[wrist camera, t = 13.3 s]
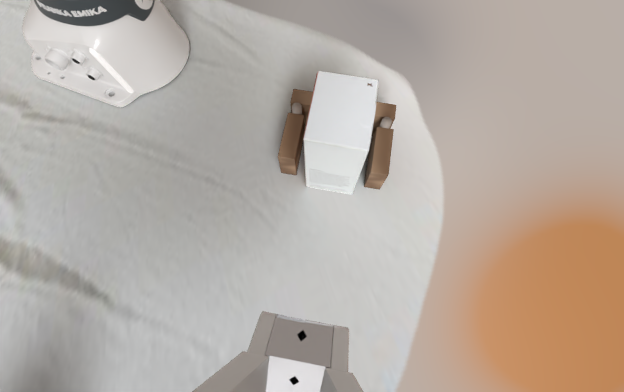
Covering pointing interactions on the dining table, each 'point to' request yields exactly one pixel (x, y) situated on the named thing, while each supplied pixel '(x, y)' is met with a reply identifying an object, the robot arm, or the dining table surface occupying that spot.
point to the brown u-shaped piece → (377, 150)
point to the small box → (338, 130)
